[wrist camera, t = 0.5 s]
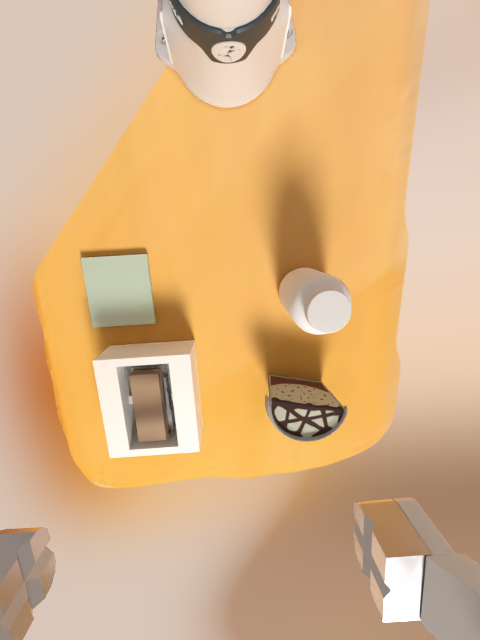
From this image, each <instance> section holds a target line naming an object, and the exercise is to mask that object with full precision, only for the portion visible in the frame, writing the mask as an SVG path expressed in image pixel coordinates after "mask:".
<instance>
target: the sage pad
mask: <svg viewBox="0 0 480 640" xmlns="http://www.w3.org/2000/svg"><path fill="white" fill-rule="evenodd" d="M81 264H82V270H83V275H84V281H85V287H86V292H87V298H88V304H89V310H90V315H91V321H92V327H93V328H95V327H111V326H126V325H142V324H155V323H156V316H155V308H154V300H153V292H152V284H151V276H150V268H149V260H148V254H136V255H120V256H103V257H86V258H81Z"/></svg>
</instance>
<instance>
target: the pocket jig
mask: <svg viewBox="0 0 480 640" xmlns="http://www.w3.org/2000/svg"><path fill="white" fill-rule="evenodd" d="M153 364H166V366H167V374H168V383H169V391H170V394H171V407H172V416H173V424H174V432H171V434H170V436H167V439H166V440H161V441H147V442H139V439H138V433H137V426H136V420H135V413H134V407H133V400H132V393H131V387H130V380H129V375H130V373H131V369H130V366H138V365H153ZM93 366H94V372H95V377H96V383H97V388H98V394H99V400H100V405H101V411H102V416H103V422H104V428H105V433H106V439H107V444H108V450H109V455H110V458H119V457H133V456H147V455H161V454H175V453H189V452H200V446H201V439H202V432H203V419H202V408H201V398H200V388H199V377H198V367H197V356H196V346H195V340H186V341H171V342H155V343H140V344H125V345H110V346H109V347H108V348H107V349H106V350H104V351H103V352H102V353H101V354H100V355H99V356H97V357H96V358H95V359H94V360H93Z"/></svg>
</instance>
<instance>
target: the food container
mask: <svg viewBox="0 0 480 640" xmlns="http://www.w3.org/2000/svg"><path fill="white" fill-rule="evenodd" d="M268 384H269V398H268V396H267V395H265V407H266V411H267V414H268V416H269V418H270V420H271V421H272V423H273V424H274V426H275V427H276V428H277V429H278V430H279V431H280V432H281V433H282V434H284V435H285V436H287V437H289V438H291V439H294V440H298V441H306V442H308V441H316V440H320V439H323V438H325V437H327V436H329V435H331V434H332V433H333V432H335V431H336V430H337V429H338V428H339V427H340V426H341V424H342V423H343V421H344V419H345V418H346V415H347V411H348V410H347V407H346V405H345V407H343V406H342V405H341V404H340V402H339V401H338V400H337V399H336V398H335V397H334V396H333V394H332V393H331V392H330V391H329V390H328V389H327V388H326V386H325V385H324V384H323V383H322V382H319V381H312V380H305V379H297V378H290V377H283V376H275V375H269V379H268Z"/></svg>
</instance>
